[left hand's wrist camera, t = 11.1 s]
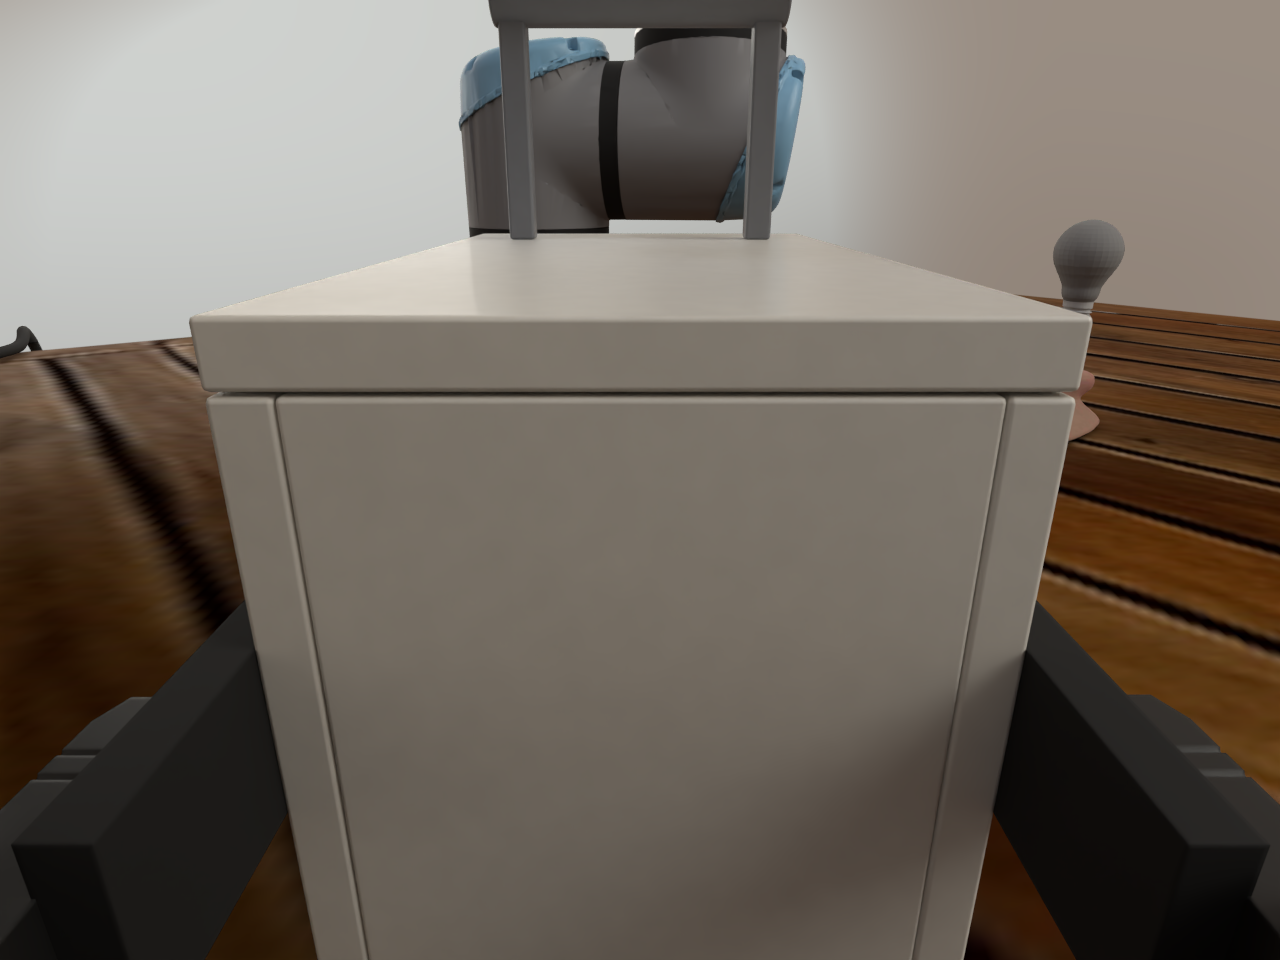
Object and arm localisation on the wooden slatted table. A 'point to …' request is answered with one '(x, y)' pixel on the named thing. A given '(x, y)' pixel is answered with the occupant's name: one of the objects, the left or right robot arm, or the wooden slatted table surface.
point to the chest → (640, 661)
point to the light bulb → (1086, 262)
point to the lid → (640, 287)
